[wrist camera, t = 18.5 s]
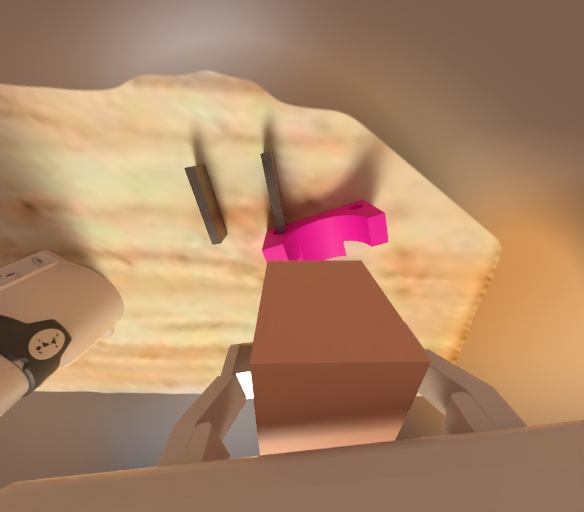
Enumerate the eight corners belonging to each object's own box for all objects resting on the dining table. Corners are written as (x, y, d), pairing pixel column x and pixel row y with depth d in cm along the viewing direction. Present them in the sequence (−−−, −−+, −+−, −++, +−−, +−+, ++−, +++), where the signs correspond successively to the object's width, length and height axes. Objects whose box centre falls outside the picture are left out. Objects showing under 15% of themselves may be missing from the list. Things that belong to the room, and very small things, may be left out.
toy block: (280, 263, 35) (278, 290, 28) (267, 230, 32) (261, 250, 25) (369, 237, 33) (390, 259, 26) (363, 199, 30) (384, 212, 24)
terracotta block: (271, 341, 14) (261, 464, 8) (267, 260, 11) (249, 363, 6) (346, 340, 14) (385, 461, 8) (361, 260, 11) (431, 361, 6)
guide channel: (219, 235, 32) (212, 244, 29) (195, 166, 28) (184, 168, 25) (285, 224, 32) (285, 232, 28) (272, 152, 27) (270, 151, 24)
